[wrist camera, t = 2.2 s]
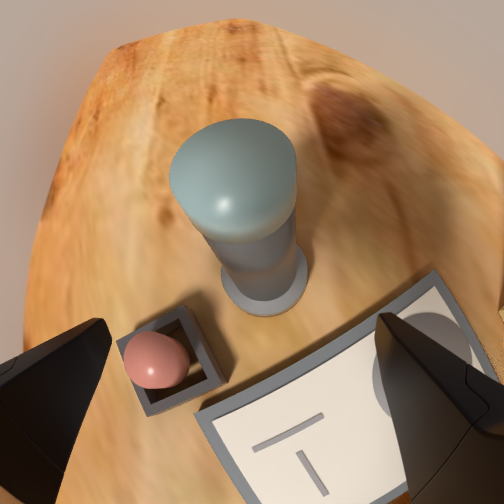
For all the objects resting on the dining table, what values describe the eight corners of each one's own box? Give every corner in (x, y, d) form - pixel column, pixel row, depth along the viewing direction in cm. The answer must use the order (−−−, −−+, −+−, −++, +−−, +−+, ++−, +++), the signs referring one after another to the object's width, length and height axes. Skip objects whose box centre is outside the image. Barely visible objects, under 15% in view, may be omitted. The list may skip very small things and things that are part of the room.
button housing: (158, 414, 19) (147, 416, 18) (127, 343, 22) (115, 341, 20) (228, 382, 20) (221, 383, 18) (191, 310, 22) (183, 304, 20)
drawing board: (282, 545, 14) (281, 553, 13) (197, 412, 19) (191, 414, 18) (501, 401, 15) (510, 402, 14) (430, 273, 20) (436, 267, 19)
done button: (154, 395, 18) (136, 396, 16) (135, 349, 20) (116, 345, 17) (198, 375, 19) (185, 374, 16) (176, 328, 20) (161, 321, 18)
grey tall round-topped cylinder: (249, 332, 21) (185, 273, 9) (212, 263, 23) (135, 152, 11) (322, 290, 21) (351, 183, 9) (280, 226, 24) (262, 90, 12)
